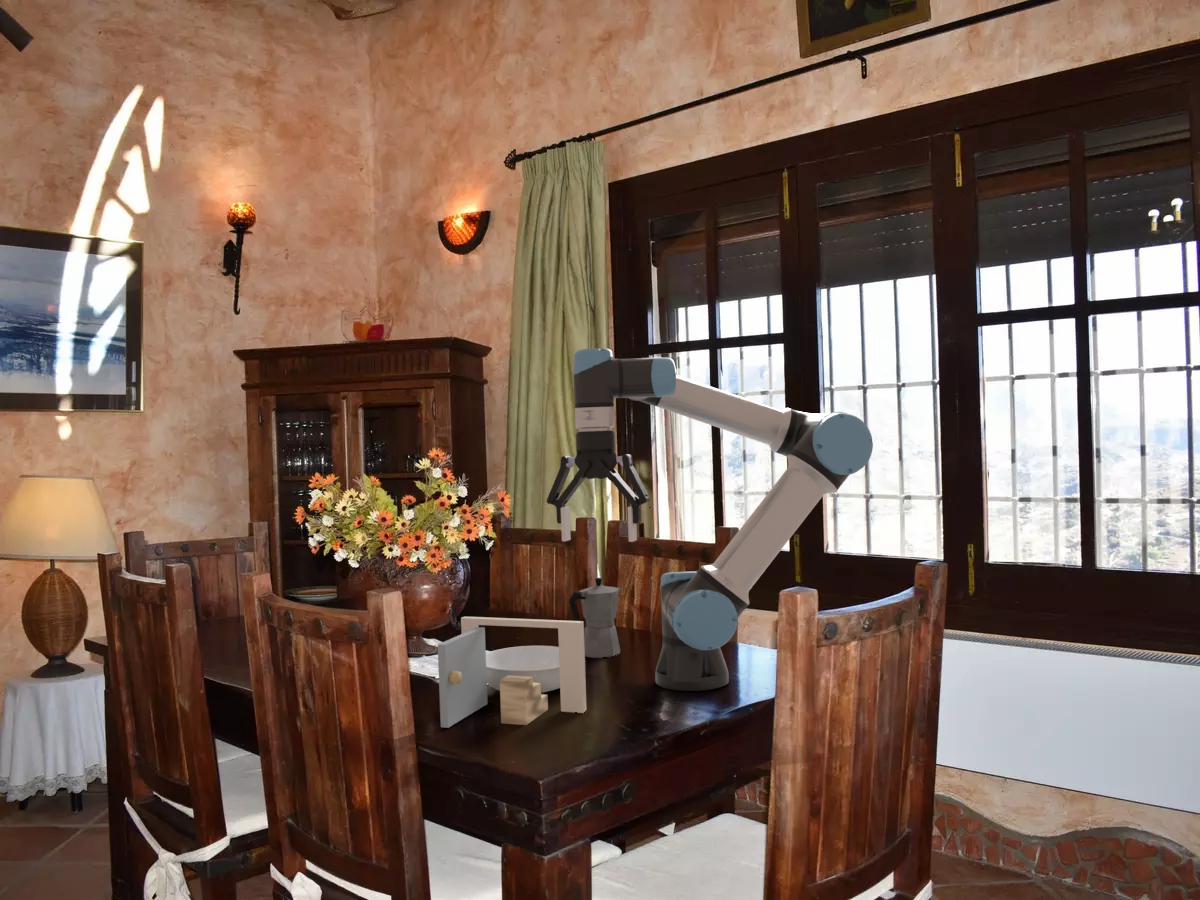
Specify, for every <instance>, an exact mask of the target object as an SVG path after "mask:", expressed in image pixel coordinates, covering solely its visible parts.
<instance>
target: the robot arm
mask: <svg viewBox="0 0 1200 900" xmlns="http://www.w3.org/2000/svg"><path fill="white" fill-rule="evenodd" d="M572 373H573V374H572V376H573V395H574V416H575V417H574V419H575V420H574V421H575V423H574V424H575V429H576V430H577V429H578V431H576V433H575V449H576V455H575V456H570V455H564V456H561V457H560V465H559V466H560V467H559V470H558V472H557V474H556V477H555V480H554V482H553V484H552V487H551V489H550V491H549V493H548V495H547V498H546V503H547V504H548V505H553V506H554V507H555V509H556V522H557V524H560V527H561V528H560V529H561V530H560V531H561V542H568V541H571V539H572V538H571V537H572V536H571V516H570V515H571V514H570V511H571V510H570V506H567V503H568V502H569V500H570V499H571V497H572V496H573V495H574V493H575V492H576V491H577V490H578V489H579V487H580V486H581V484H582V483H583V482H584V481H585V480H586V479H587V480H591V479H599V480H600V479H601V480H602V479H608V480H609V481H610V482H611V483H612V484H613V485H614V486H615V488H617V490H618V491H619V493H621V494H622V496H623V497H624V498H625V499H626V500H627V502H628V503H629V504H630V506H628V507H627V528H628V532H627V534H628V542H631V543H633V542H636V541H638V531H637V527H638V526H637V524H641V522H642V511H641V509H642V505H644V504H646V503H649V502H650V501H651V497H650V495H649V493H648V491H647V490H646V487H645V486H644V484H643V481H642V480H641V478H640V476H639V474H638V472H637V470H636V468H635V466H634V460H633V456H632V455H631V453H630V454H628V453H627V454H623V455H620V456H619V455H617V453H616V433H615V431H614V430H613V428H614V427H616V426H615V425H616V424H615V423H616V422H615V403H614V401H615V399H622V398H623V399H624V398H625V399H629V400H631V401H637V402H638V401H639V402H641V403H644V404H647V405H650V406H655V407H656V408H660V409H663V410H665V411H669V412H671V413H673V414H674V413H675V414H678V415H681V416H684V417H686V418H688V419H689V418H690V419H691V420H692V419H693V420H695V421H698V422H701V423H704V424H707V425H710V426H713V427H716V428H718V429H721V430H725V431H727V432H730V433H733V434H736V435H739V436H741V437H745V438H747V439H750V440H752V441H753V440H754V441H757V442H760V443H762V444H765V445H768V446H769V448H770V450H771V452H773V453H777V454H779V455H782V456H785V457H786V458H787V464H788V465H787V468H786V470H785V471H784V473H783V474H781V476H780V478H779V479H778V480H777V481H776V482H775V484H774V485H773V487H772V488H770V491H768V493H766V495H765V497H764V498H763V500H762V501H761V502H760V503H759V504H758V506H757V507H756V508H755V509H754V511H752V513H751V514H750V516H748V517H747V518H748V519H747V520H746V521H745V522H744V523H743V525H742V526H741V527H740V529H739V530H738V531H737V532H736V534H735V535H734V536H733V538H732V539H731V540H730V542H729V543H728V544H727V545H726V547H725V548H724V549H723V551H722V552H721V553H720V555H718V557H717V558H716V560H715V561H714V562H713V563H711V564H705V565H700V567H699V569H698V570H696V571H695V570H694V571H690V570H689V571H674V572H665V573H663V574H662V575H661V577H660V585H659V590H660V599H661V624H662V625H661V627H662V628H661V630H662V632H661V633H662V648H661V651H660V654H659V658H658V662H657V665H656V668H655V684H656V685H657V686H659V687H661V688H662V689H663V688H664V689H667V690H673V691H674V690H675V691H683V692H691V691H692V692H694V691H695V692H698V691H701V692H702V691H709V690H715V689H718V688H722V687H724V686H726V685H728V684H729V682H730V681H729V670H728V667H727V663H726V660H725V658H724V654H723V652H722V649H721V647H723V646H724V645H726V644H727V643H728V642H730V640H731V639H732V638H733V636H734V634H735V632H736V630H737V628H738V627H737V626H738V619H739V618H740V616H741V615H742V614H743V613H744V611H745V610H746V608H747V607H748V606H749V605H750V598H749V597H750V596H749V592H750V591H751V589H752V588H753V586H755V584H756V583H757V581H758V580H759V579H760V577H761V576H762V575H763V574H764V573H765V571H766V569H767V568H768V567H769V566H770V565H771V563H772V562H773V560H775V558H776V557H777V556H778V554H779V553H780V551H782V550H783V548H784V546H786V544H787V543H788V542H789V540H790V539H791V538H792V536H793V535H794V534H795V532H796V531H797V530H798V528H799V527H800V526H801V525H802V524H803V522H804V521H805V520H806V518H807V517H808V515H809V514H810V513H811V512H812V510H813V509H814V508H815V506H817V504H818V503H819V501H820V500H821V499H822V498H823V496H824V495H826V494H832V493H836V492H837V491H838V490H839V489H840V488H841V486H842V485H843V484H844V483H845V481H846V480H847V479H848V477H849V476H850V475H853V474H856V473H857V472H859V471H860V470H862V469H863V468H864V467H865V466H866V465H867V464H868V463H869V460H870V459H871V457H872V454H873V448H874V442H873V437H872V433H871V431H870V429H869V427H868V426H867V424H866V423H865V422H864V421H863V420H862V419H861V418H859V417H857V416H856V415H853V414H851V413H848V412H843V411H834V412H830V413H810V412H803V411H799V410H795V409H792V408H789V407H786V408H784V409H782V410H780V409H777V408H774V407H771V406H768V405H765V404H764V403H763V404H762V403H760V402H756V401H755V400H751V399H748V398H745V397H742V396H740V395H738V394H737V395H736V394H734V393H730V392H727V391H725V390H721V389H719V388H716V387H713V386H709V385H707V384H705V383H702V382H699V381H695V380H693V379H689V378H687V377H685V376H681V375H677V369H676V364H675V361H674V360H673V359H672V358H670V357H659V356H655V357H641V358H638V357H637V358H614V356H613V351H612V350H611V349H609V348H606V347H605V348H604V347H603V348H600V347H599V348H581V349H578V350H577V351H576V352H575V353H574V354H573V372H572ZM574 464H575V466H576V467H577V469H578V470H577V471H576V474H574V476H573V479H572V480H571V481H570V483H568V485H567V487H566V488H565V489H564V490H563V487H564V485H565V483H566V481H567V478H568V476H569V473H570V470H571V468H573V467H574ZM618 464H619V465H620V466H621V467H623V470H624V472H625V473H626V475H627V478H628V480H629V482H630V484H631V486H632V487H633V490H634V491H633V490H632V489H631V487H630V486H629V485H628V484H627V483H626V482H625V481H624V480H623V478H622V477H621V475H620V474H619V472H618V471H617V469H615V467H616V466H617V465H618ZM562 490H563V492H562ZM561 492H562V493H561Z"/></svg>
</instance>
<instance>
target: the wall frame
mask: <svg viewBox="0 0 1200 900" xmlns="http://www.w3.org/2000/svg"><path fill="white" fill-rule="evenodd" d="M584 622H585V621H583V620H582V621H581V620H580V621H575V620H561V619H560V620H558V619H557V620H556V619H537V618H536V619H535V618H534V619H533V618H532V619H531V618H514V617H513V618H511V617H510V618H509V617H508V618H507V617H487V616H486V617H485V616H462V617H460V624H461V625H460V626H461V627H460V628H461V634H463V633H465V632H468V631H470V630H472V629H474V628H477V627H480V626H497V627H500V626H501V627H520V628H522V627H523V628H542V629H547V628H548V629H557V633H558V635H557V637H558V647H559V667H560V688H559V689H560V695H559V697H560V712H564V713H575V712H577V714H578V713H579V714H585V713H586V712H587V711H586V710H587V686H586V685H587V684H586V683H587V682H586V656H585V650H584V630H585V627H584V626H585V624H584ZM585 711H586V712H585ZM584 712H585V713H584Z"/></svg>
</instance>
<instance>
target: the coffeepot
mask: <svg viewBox="0 0 1200 900" xmlns="http://www.w3.org/2000/svg"><path fill="white" fill-rule="evenodd" d="M594 580H595V585H594V586H590V587H587V588H584V589H581V590H576V591H574V592H573V593H572V594H571V595H570V597H569V599H568V603H569V607H570V610H571V613H572V616H573V619H574V621H581V620H580V619H581V618H580V613H579V609H578V605H577V603H576V602H577V601H578V600H580V603H581V608H582V613H583V619H585V621H584V625H585V627H584V650H585V658H586V657H587V658H591V659H603V657H607V658H613V657H615V655H616V656H618V655H620V653H621V652H622V651H621V646H620V643H619V642H620V641H619V637H618V632H617V627H616V625H615V619H616V618H617V610H618V604H619V592H620V591H621V590H622V588H620V587H615V586H607V585H602V583H603V582H602V581H603V578H601V577H596V578H594ZM617 654H618V655H617ZM612 656H613V657H612Z"/></svg>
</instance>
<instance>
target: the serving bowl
mask: <svg viewBox="0 0 1200 900" xmlns="http://www.w3.org/2000/svg"><path fill="white" fill-rule="evenodd" d="M508 675H509V676H524V677H533V682H534V683H541V694H545V693H548V692H551V691H555V690H559V689H560V667H559V646H554V645H521V646H513V647H506V648H505V647H504V648H501V649H500V648H499V649H495V650H492V651H489V652H486V676H487V686H490V687H491V688H493V689H495V690H497V691H498V692H500V680H501V679H503V678H504V677H506V676H508Z"/></svg>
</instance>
